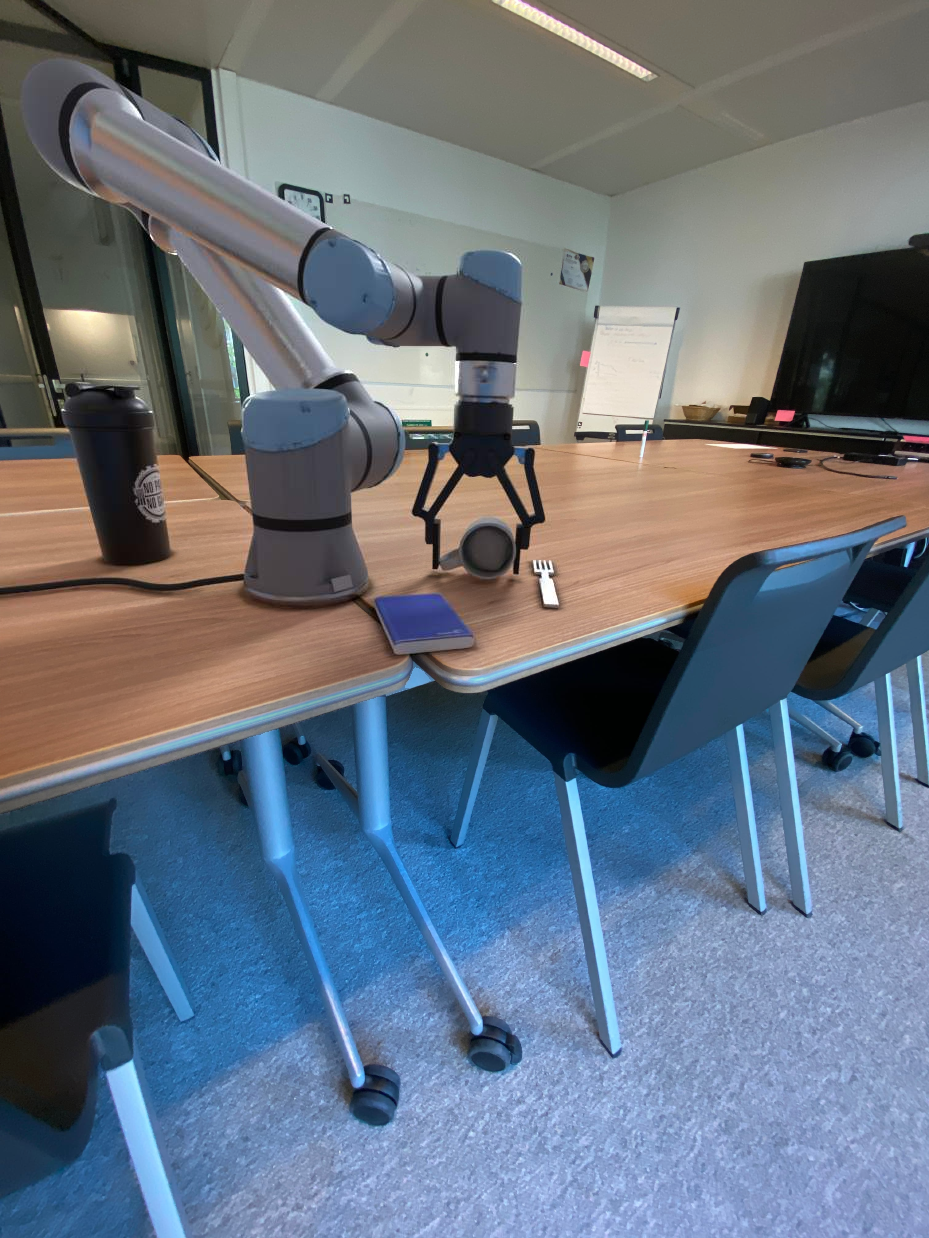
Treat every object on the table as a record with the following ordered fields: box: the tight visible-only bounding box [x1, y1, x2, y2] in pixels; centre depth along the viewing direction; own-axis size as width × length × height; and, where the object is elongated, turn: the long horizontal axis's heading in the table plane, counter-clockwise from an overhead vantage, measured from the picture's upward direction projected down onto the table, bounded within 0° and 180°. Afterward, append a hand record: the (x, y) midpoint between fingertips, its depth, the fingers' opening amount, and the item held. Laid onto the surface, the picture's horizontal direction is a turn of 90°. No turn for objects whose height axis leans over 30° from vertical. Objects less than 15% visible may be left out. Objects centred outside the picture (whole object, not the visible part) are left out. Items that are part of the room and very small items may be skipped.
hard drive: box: [373, 592, 475, 655], centre depth 58 cm, size 2×8×12 cm
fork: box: [532, 559, 560, 609], centre depth 74 cm, size 3×19×1 cm, turn 176°
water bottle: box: [60, 381, 172, 566], centre depth 73 cm, size 10×10×23 cm
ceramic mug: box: [439, 516, 516, 580], centre depth 74 cm, size 11×8×8 cm
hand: (475, 569), depth 75 cm, fingers closed on ceramic mug, 11 cm apart
